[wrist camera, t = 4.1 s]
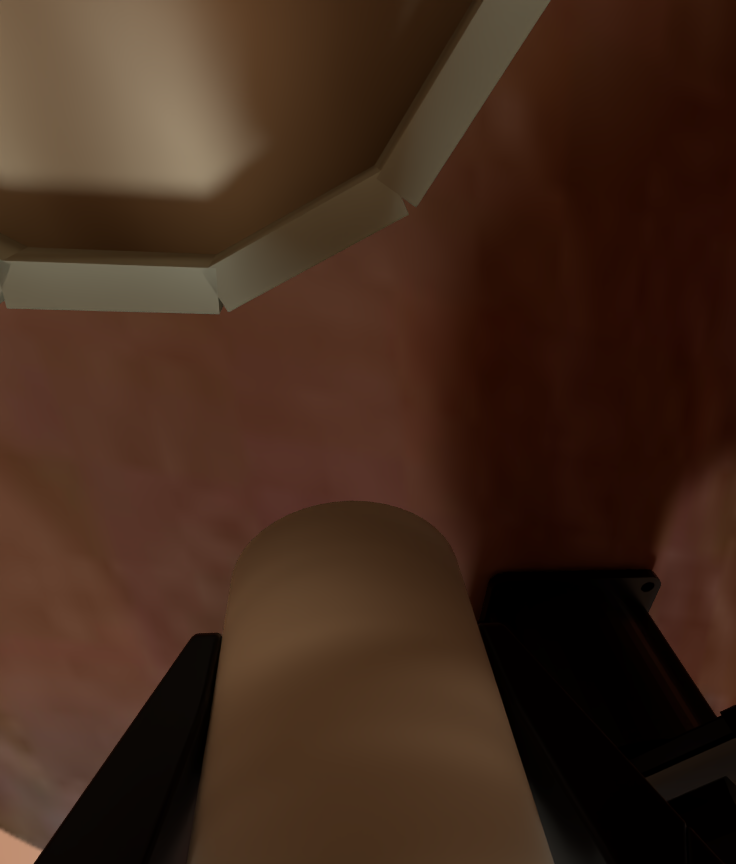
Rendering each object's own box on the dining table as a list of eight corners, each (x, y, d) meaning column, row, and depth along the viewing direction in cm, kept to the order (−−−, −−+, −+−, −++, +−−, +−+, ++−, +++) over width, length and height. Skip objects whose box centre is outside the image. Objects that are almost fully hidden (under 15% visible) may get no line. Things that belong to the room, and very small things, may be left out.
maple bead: (475, 499, 9) (630, 870, 5) (443, 658, 11) (529, 1017, 7) (221, 502, 8) (133, 913, 4) (237, 668, 10) (190, 1057, 6)
